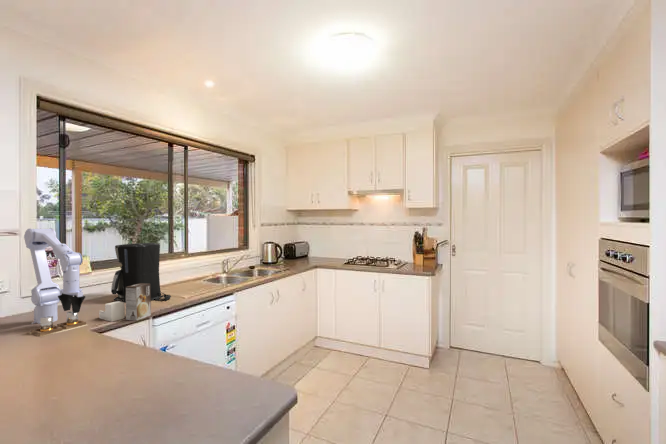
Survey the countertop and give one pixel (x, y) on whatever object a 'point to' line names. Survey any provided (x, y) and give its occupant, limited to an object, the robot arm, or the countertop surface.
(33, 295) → the robot arm
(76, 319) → the sleeve
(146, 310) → the coffee box
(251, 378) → the countertop surface
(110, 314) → the feeder
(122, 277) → the coffee maker
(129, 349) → the countertop surface
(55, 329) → the seat board
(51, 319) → the sleeve
